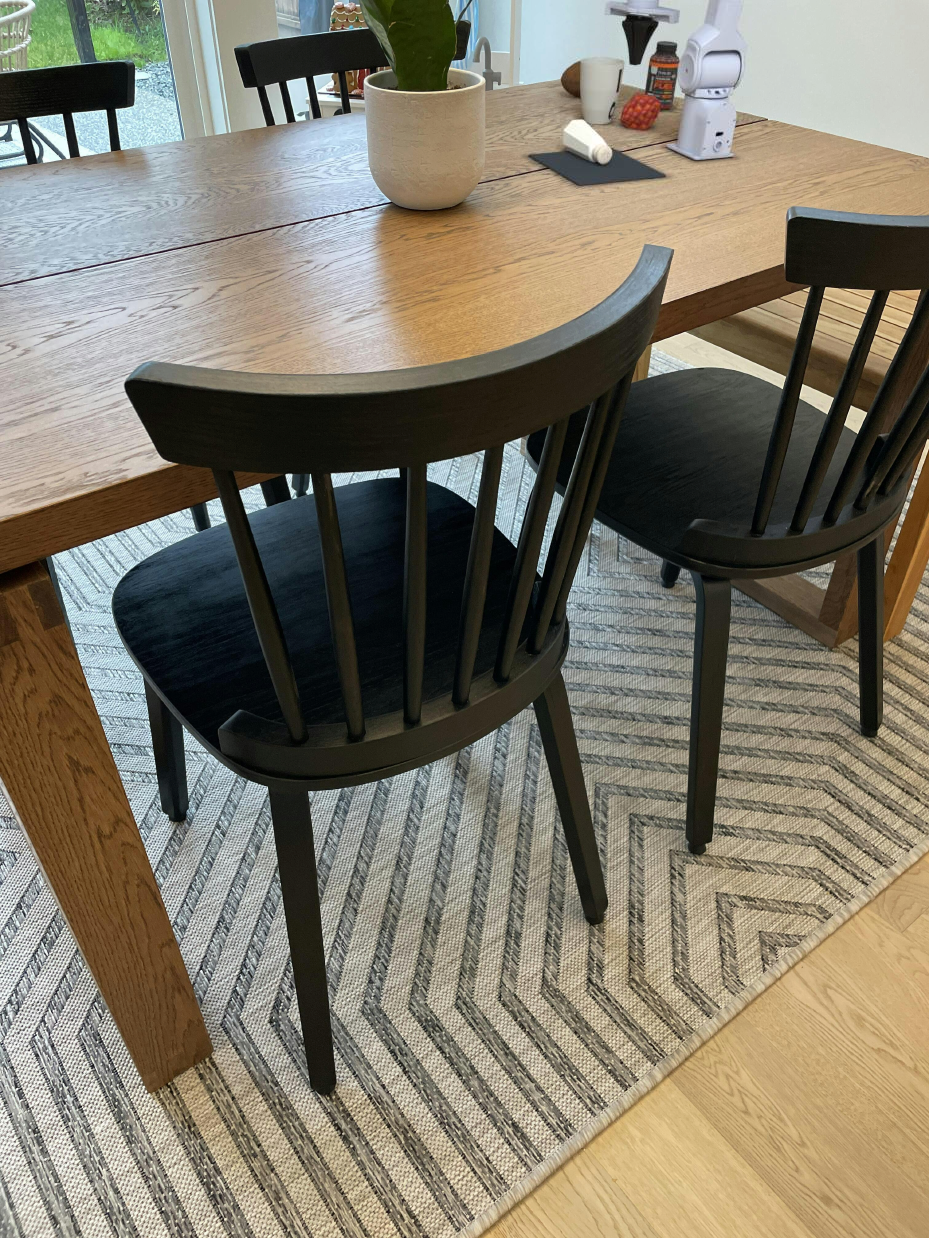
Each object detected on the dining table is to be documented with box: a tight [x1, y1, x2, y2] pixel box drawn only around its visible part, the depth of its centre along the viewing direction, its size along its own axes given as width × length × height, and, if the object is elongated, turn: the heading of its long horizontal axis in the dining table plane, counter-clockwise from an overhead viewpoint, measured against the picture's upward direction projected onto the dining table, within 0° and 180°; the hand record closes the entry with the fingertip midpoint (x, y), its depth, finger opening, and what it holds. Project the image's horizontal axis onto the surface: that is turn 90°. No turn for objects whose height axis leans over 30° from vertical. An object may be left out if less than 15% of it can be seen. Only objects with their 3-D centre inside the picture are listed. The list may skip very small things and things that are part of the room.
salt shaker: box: [561, 119, 612, 164], centre depth 154 cm, size 5×5×11 cm
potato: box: [560, 60, 581, 98], centre depth 190 cm, size 7×12×7 cm, turn 117°
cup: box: [580, 56, 626, 125], centre depth 173 cm, size 8×8×10 cm
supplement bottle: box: [644, 40, 680, 111], centre depth 184 cm, size 6×6×11 cm
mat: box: [528, 146, 667, 187], centre depth 152 cm, size 18×16×1 cm
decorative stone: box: [619, 93, 662, 131], centre depth 172 cm, size 6×7×8 cm
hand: (635, 64), depth 173 cm, fingers closed
